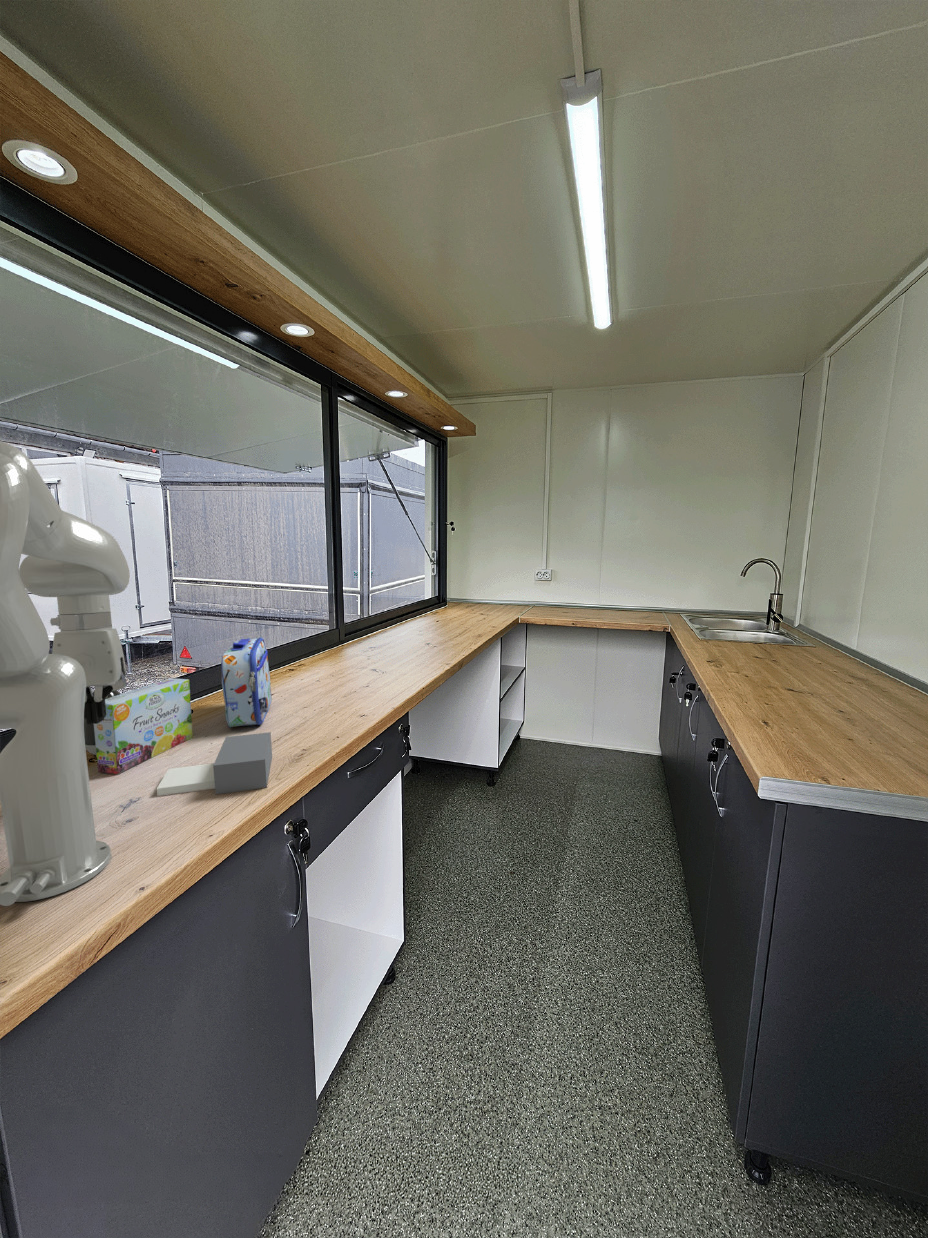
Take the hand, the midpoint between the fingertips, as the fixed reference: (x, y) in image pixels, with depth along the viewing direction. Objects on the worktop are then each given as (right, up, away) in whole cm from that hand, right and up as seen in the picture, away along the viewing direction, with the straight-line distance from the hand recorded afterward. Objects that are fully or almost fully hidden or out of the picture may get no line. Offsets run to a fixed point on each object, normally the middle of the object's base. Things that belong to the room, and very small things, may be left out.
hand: (95, 721), depth 92 cm
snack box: (-3, -12, +21) cm, 24 cm away
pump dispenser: (-13, -12, +22) cm, 28 cm away
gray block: (+23, -13, +10) cm, 28 cm away
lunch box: (+9, -8, +45) cm, 47 cm away
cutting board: (+17, -14, +8) cm, 23 cm away
